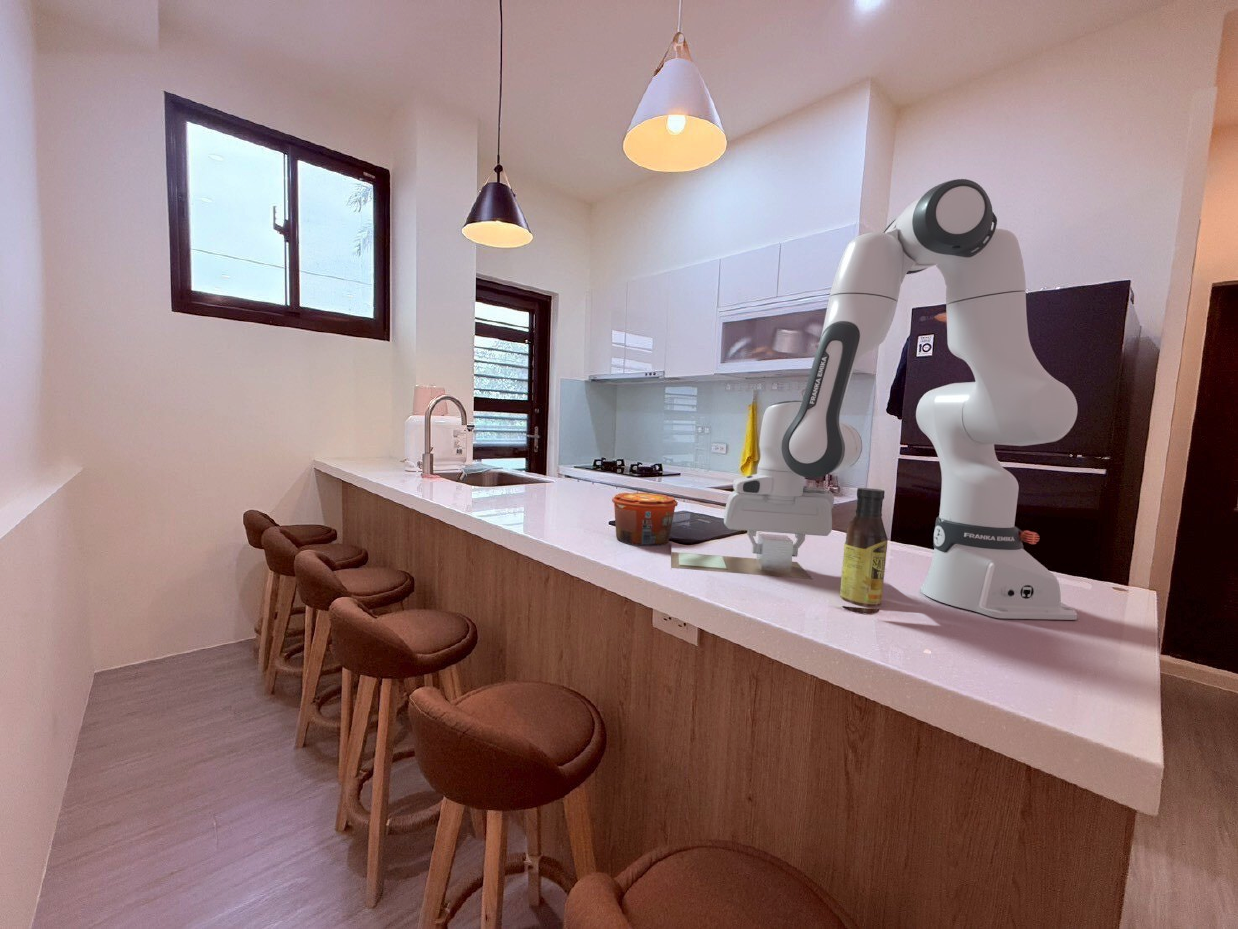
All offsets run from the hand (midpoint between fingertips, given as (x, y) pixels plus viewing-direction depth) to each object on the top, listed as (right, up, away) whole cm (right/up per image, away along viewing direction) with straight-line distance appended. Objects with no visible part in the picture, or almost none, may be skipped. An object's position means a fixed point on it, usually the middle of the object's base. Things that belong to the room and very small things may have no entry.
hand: (774, 554), depth 102 cm
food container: (-25, -1, +25) cm, 35 cm away
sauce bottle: (+9, -6, -16) cm, 20 cm away
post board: (-7, -4, +1) cm, 8 cm away
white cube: (0, -3, 0) cm, 3 cm away
